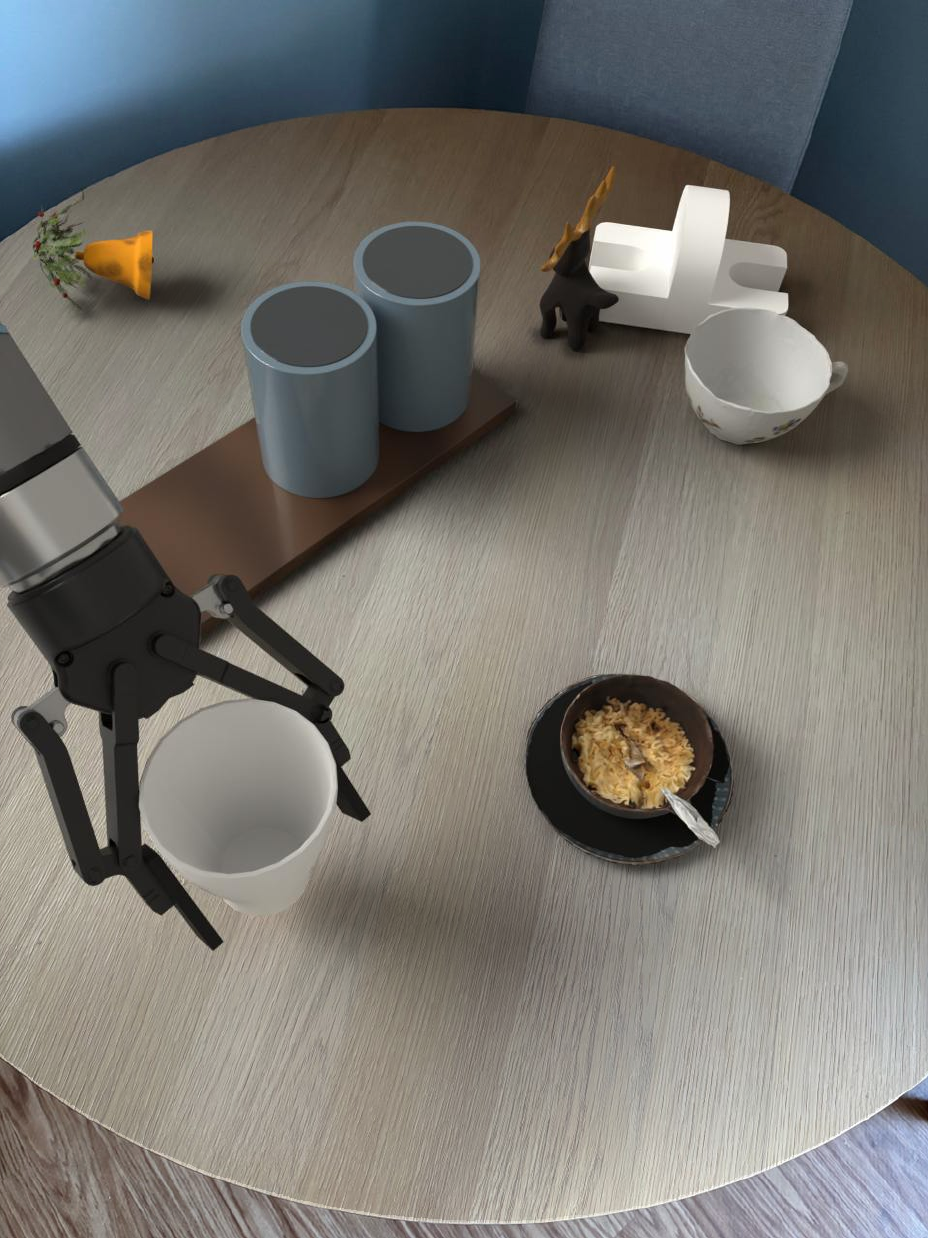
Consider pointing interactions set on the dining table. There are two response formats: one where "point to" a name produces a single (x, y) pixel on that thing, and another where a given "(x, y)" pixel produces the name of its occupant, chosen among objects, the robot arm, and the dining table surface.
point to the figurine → (576, 279)
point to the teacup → (756, 374)
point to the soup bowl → (629, 769)
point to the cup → (241, 802)
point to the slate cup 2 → (421, 320)
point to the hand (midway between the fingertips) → (286, 874)
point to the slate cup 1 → (314, 387)
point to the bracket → (685, 268)
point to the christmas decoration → (96, 257)
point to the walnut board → (282, 501)
